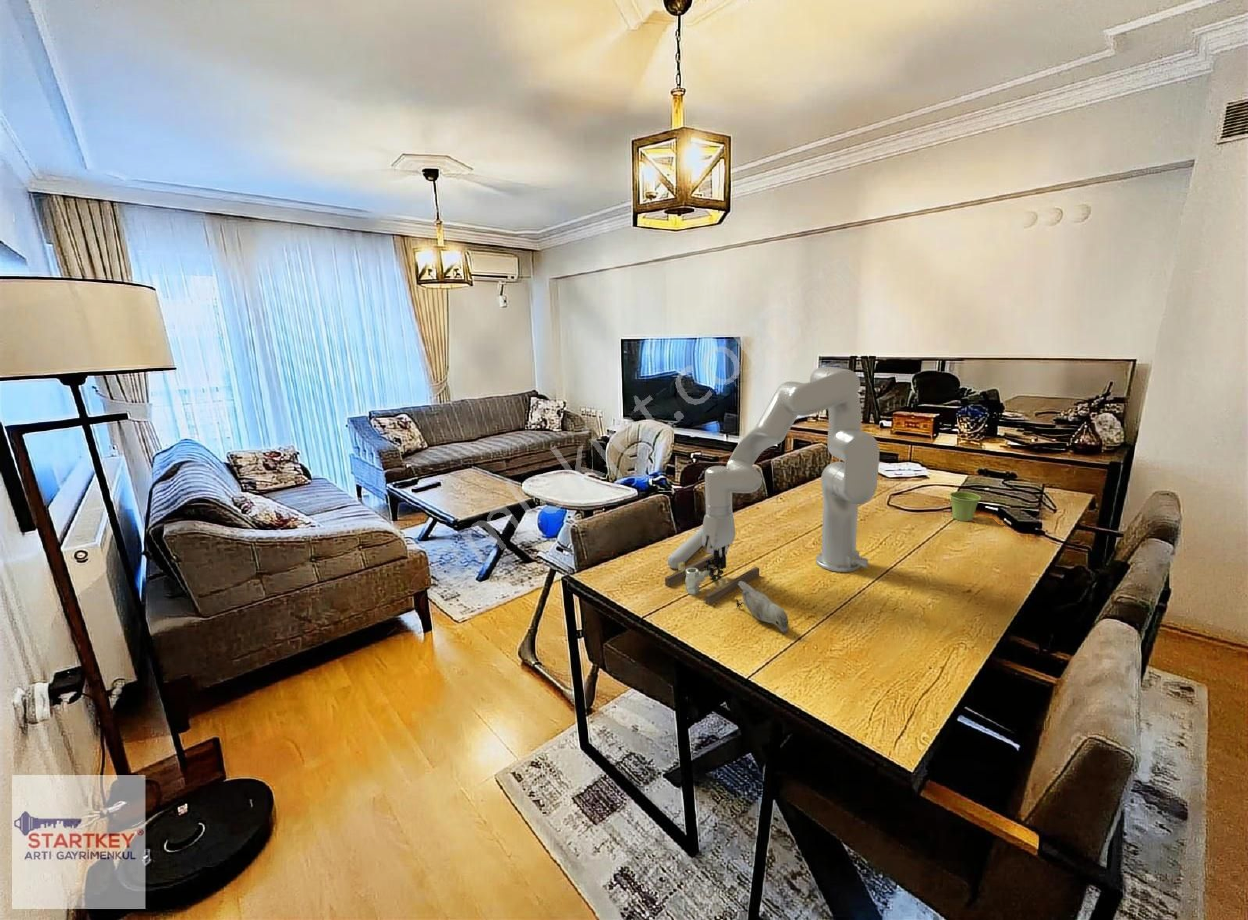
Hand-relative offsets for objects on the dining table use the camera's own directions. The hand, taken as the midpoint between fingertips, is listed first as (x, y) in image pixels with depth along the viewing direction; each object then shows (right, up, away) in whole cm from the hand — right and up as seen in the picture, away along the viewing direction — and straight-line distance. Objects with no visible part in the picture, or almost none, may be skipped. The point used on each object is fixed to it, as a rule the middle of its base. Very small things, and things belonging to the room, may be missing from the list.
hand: (720, 567), depth 153 cm
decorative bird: (+6, -9, -23) cm, 25 cm away
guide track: (-2, -4, -1) cm, 5 cm away
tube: (-7, 0, +17) cm, 18 cm away
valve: (-6, -5, -5) cm, 9 cm away
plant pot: (+93, +11, +32) cm, 99 cm away
